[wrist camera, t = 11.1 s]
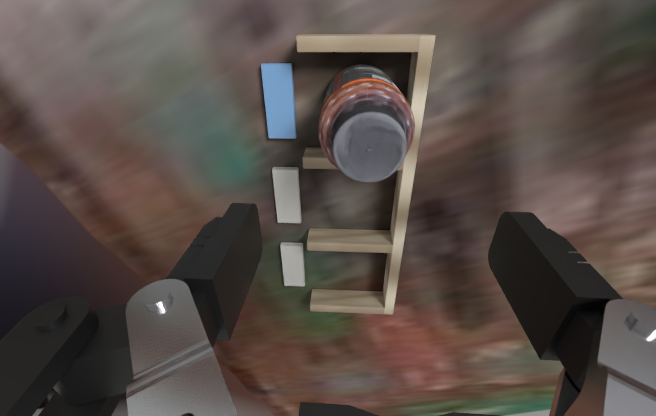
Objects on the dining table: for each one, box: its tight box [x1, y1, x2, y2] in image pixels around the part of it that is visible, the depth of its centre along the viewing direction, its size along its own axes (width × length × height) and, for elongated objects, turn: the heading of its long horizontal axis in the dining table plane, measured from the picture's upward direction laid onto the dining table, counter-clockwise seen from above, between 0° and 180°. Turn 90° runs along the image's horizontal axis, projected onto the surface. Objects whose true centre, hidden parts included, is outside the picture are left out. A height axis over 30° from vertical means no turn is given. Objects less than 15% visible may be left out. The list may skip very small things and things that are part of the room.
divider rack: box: [297, 34, 435, 314], centre depth 30 cm, size 28×10×2 cm, turn 0°
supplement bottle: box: [318, 64, 415, 183], centre depth 21 cm, size 6×6×11 cm
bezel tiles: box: [261, 63, 305, 286], centre depth 31 cm, size 24×2×1 cm, turn 0°
